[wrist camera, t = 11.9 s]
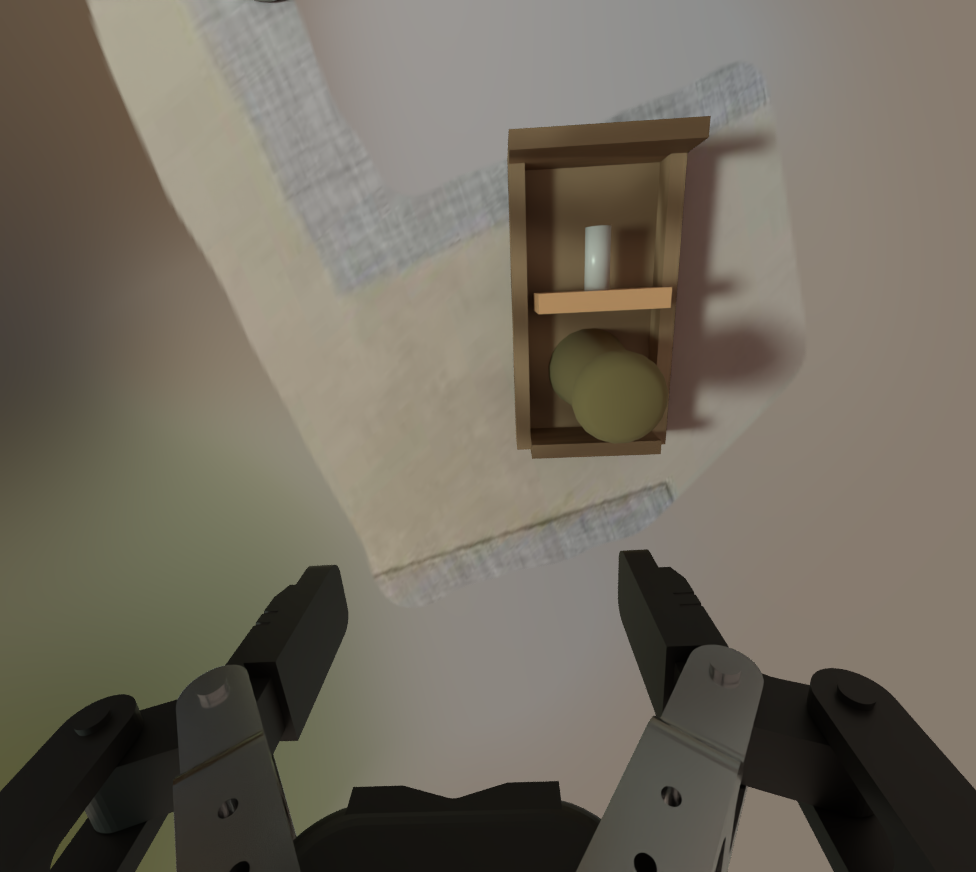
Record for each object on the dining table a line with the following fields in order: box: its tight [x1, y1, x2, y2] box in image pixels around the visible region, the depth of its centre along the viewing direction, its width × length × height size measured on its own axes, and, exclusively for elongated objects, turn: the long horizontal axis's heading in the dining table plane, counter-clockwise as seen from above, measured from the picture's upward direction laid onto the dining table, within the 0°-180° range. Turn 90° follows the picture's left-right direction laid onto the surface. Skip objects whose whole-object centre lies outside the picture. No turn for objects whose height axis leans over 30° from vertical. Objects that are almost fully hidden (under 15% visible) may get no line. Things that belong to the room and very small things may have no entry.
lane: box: [507, 116, 711, 459], centre depth 31 cm, size 20×11×6 cm, turn 3°
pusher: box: [533, 225, 672, 314], centre depth 29 cm, size 5×8×5 cm, turn 93°
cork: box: [549, 328, 668, 444], centre depth 29 cm, size 6×6×11 cm
